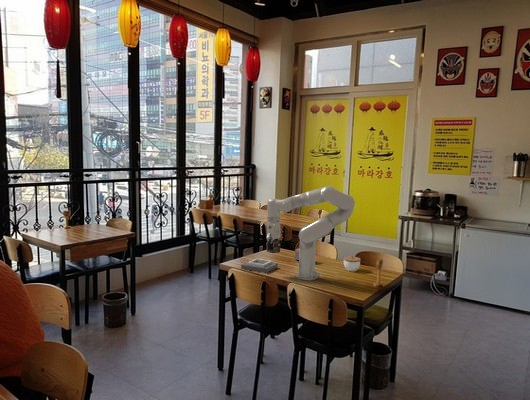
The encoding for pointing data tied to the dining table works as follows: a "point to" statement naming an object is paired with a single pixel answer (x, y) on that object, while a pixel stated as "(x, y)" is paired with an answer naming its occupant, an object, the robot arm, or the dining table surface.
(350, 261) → the lidded jar
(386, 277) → the dining table surface
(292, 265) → the dining table surface
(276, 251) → the box
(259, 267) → the grey flat block
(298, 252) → the food item
